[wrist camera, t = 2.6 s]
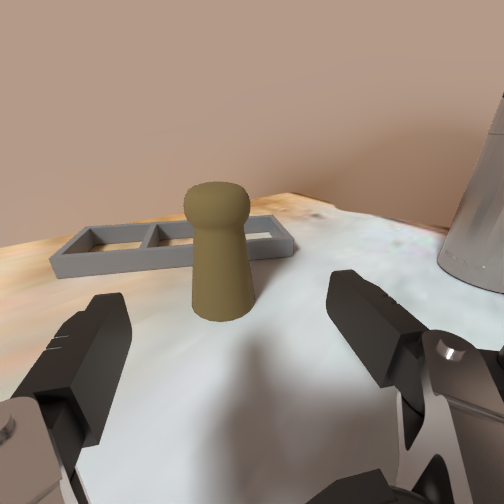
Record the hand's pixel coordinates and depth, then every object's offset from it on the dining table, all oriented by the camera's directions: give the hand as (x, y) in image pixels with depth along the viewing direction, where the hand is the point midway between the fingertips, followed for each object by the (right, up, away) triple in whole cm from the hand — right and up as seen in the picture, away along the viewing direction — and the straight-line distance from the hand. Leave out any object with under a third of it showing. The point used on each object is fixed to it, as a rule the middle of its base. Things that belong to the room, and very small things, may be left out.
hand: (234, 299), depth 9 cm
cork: (-2, -3, +14) cm, 14 cm away
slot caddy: (-8, +2, +24) cm, 25 cm away
